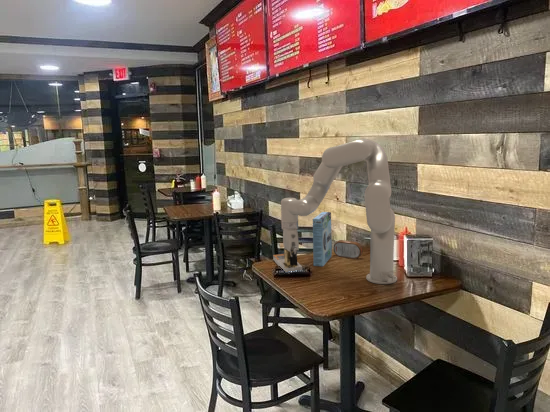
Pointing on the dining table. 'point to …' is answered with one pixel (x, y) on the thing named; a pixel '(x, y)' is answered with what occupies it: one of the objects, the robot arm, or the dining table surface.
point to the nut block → (287, 258)
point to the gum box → (322, 239)
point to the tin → (348, 249)
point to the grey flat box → (281, 262)
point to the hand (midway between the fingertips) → (290, 261)
